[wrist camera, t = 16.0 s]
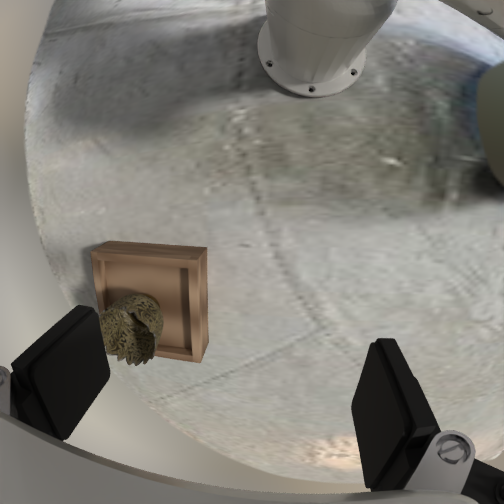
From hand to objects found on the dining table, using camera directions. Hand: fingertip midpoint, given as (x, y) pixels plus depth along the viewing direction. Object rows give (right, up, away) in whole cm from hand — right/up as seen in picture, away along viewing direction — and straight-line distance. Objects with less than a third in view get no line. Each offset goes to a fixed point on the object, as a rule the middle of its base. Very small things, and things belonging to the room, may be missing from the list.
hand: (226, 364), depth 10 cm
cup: (-12, -3, +28) cm, 31 cm away
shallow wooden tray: (-12, -2, +32) cm, 34 cm away
